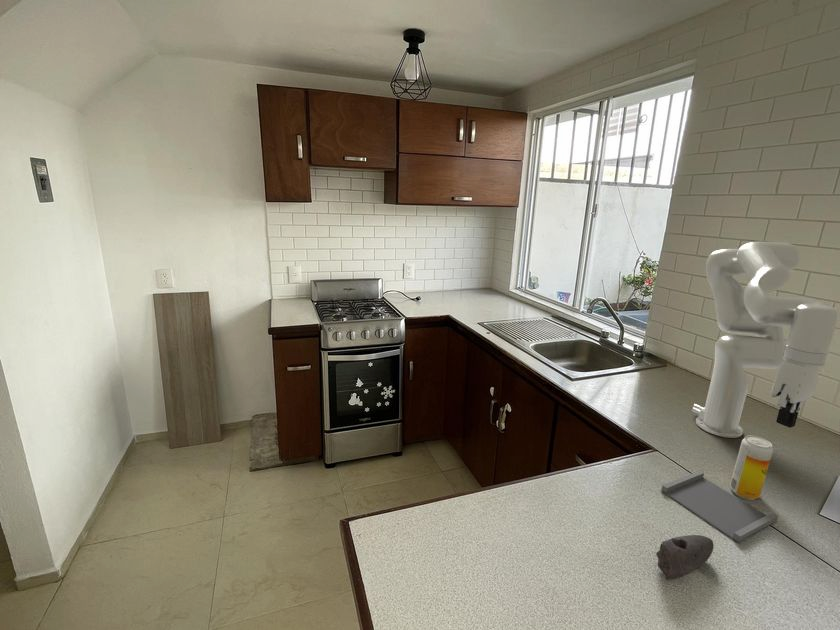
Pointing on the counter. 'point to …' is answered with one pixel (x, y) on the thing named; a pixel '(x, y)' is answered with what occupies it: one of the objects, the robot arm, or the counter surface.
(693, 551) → the perforated stone tool
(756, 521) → the stand
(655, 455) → the counter surface
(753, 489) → the beer can
